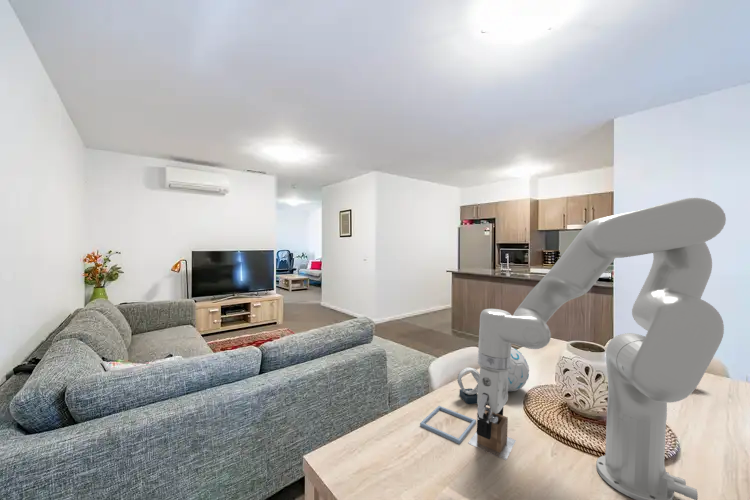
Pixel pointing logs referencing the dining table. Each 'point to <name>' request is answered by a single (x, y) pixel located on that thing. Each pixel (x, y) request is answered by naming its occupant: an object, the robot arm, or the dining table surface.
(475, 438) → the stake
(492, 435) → the collar
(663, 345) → the robot arm
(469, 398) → the watch
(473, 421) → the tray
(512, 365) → the puzzle ball
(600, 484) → the dining table surface
